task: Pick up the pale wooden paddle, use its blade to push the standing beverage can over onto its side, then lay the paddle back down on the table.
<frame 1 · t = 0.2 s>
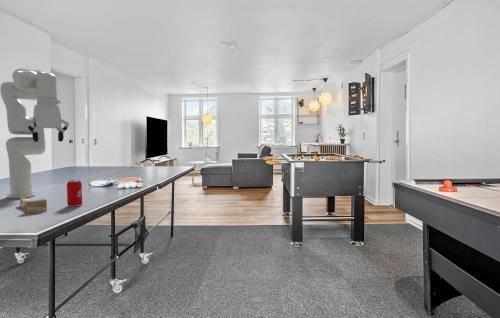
hand: (48, 141, 146), 30 cm above the table, tool pointing down, fingers open, 9 cm apart
beverage can: (75, 206, 157), on the table
wooden paddle: (30, 208, 150), on the table
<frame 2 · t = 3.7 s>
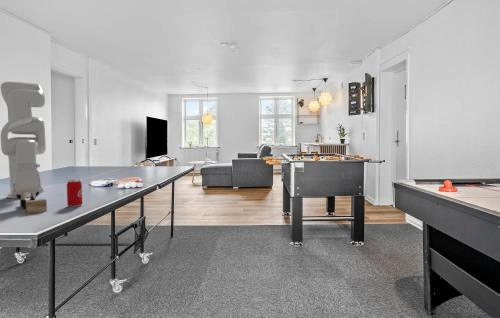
hand: (28, 207, 152), 0 cm above the table, tool pointing down, fingers closed on wooden paddle, 2 cm apart
wooden paddle: (30, 208, 150), on the table, touching gripper
everything else where it was.
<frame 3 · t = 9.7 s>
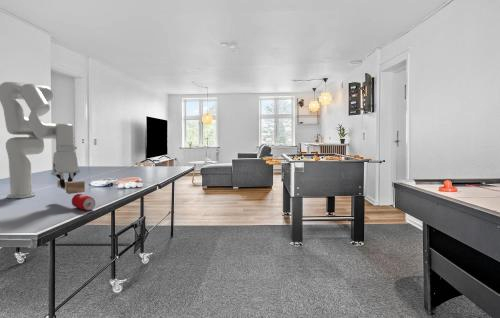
hand: (66, 186, 162), 8 cm above the table, tool pointing down, fingers closed on wooden paddle, 2 cm apart
beverage can: (77, 200, 154), point 3 cm above the table
wooden paddle: (68, 189, 161), point 7 cm above the table, touching gripper
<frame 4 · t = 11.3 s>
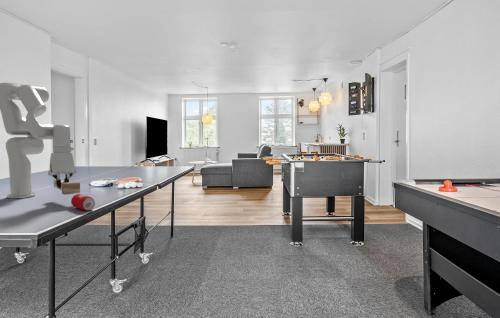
hand: (62, 186, 165), 7 cm above the table, tool pointing down, fingers closed on wooden paddle, 2 cm apart
wooden paddle: (64, 189, 164), point 6 cm above the table, touching gripper
everything else where it was.
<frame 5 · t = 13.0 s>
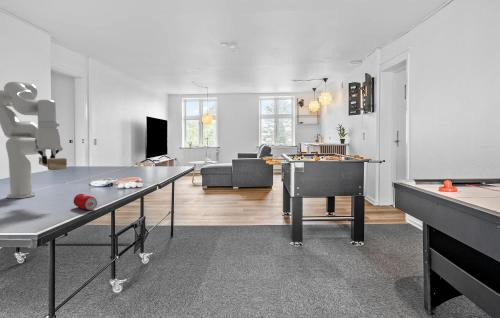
hand: (48, 163, 161), 19 cm above the table, tool pointing down, fingers closed on wooden paddle, 2 cm apart
beverage can: (79, 200, 155), point 3 cm above the table
wooden paddle: (49, 166, 161), point 18 cm above the table, touching gripper
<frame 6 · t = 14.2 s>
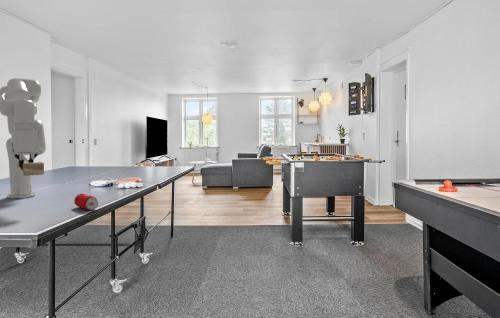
hand: (26, 168, 150), 18 cm above the table, tool pointing down, fingers closed on wooden paddle, 2 cm apart
wooden paddle: (27, 171, 150), point 17 cm above the table, touching gripper
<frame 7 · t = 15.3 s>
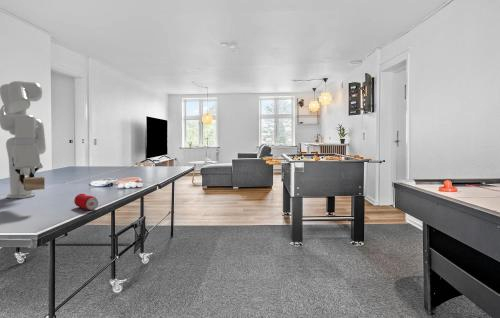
hand: (27, 182, 151), 12 cm above the table, tool pointing down, fingers closed on wooden paddle, 2 cm apart
wooden paddle: (28, 185, 150), point 10 cm above the table, touching gripper
everything else where it was.
when the fingers open (2 cm above the table, at t = 17.3 s): wooden paddle stays where it is, on the table.
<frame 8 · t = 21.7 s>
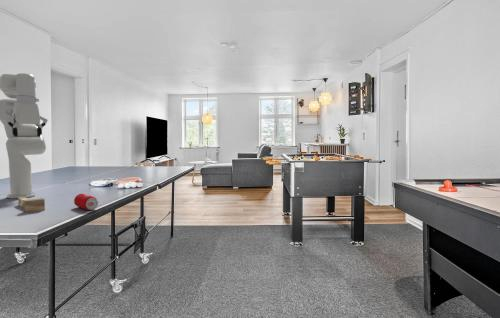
hand: (27, 136, 159), 32 cm above the table, tool pointing down, fingers open, 9 cm apart
wooden paddle: (28, 208, 151), on the table
everything else where it was.
at the end: beverage can tilted 91°; the gripper is holding nothing; wooden paddle inside the target area (2.6 cm from its centre), on the table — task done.
